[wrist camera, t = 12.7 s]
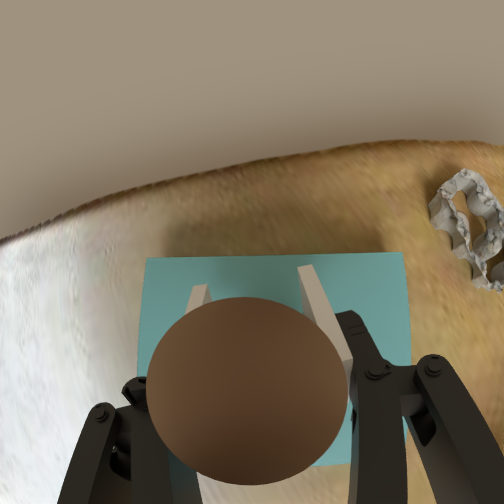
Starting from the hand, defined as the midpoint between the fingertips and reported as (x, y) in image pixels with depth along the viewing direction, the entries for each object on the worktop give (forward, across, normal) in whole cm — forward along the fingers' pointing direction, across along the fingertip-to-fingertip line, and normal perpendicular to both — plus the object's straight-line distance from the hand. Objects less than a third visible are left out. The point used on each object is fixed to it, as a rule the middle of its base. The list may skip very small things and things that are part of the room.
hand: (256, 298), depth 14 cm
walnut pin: (+1, 0, -6) cm, 6 cm away
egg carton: (+6, +20, -3) cm, 21 cm away
